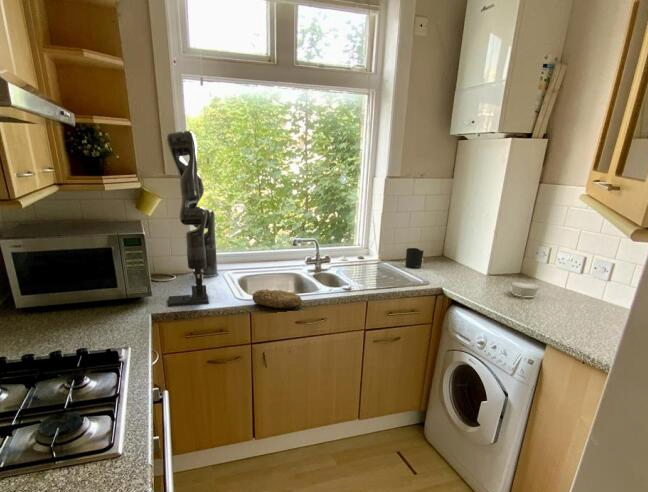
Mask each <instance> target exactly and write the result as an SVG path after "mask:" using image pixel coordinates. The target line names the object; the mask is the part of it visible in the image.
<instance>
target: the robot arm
mask: <svg viewBox="0 0 648 492" xmlns="http://www.w3.org/2000/svg"><path fill="white" fill-rule="evenodd" d="M166 142H167V147H168V149H169V152H170V154H171V157H172V160H173V163H174V165H175V167H176V170H177V173H178V177H179V180H180V182H179V185H180V193H181V206H180V209H179V210H180V211H179V221H180V222H181V224H182V225H184V226H193V227H194V228H195V229H192V230H188V231H186V233H185V241H186V256H187V268H188V269H190V270H194V271H192V275H193V276H192V277H193V280H194V284H195V286H196V289H197V297H202V296H203V293H202V288H203V286H202V285H203V283H204V278H214V277H216V276H218V274H219V273H218V258H217V245H216V244H217V243H216V215H215V212H214V210H213V209H205V208H204V207H203V206H198V205H199V202H200V201H201V199H202V197H203V196H204V192H205V187H204V183H203V179H202V176H201V175H200V174H199V172H198V145H197V140H196V136H195V133H194V132H193V131H191V130H184V131H182V130H181V131H173V132H169V133H167V136H166ZM186 156H188V162H186V160H185V159H184V157H186ZM206 229H207V231H206V232H205V230H206ZM197 285H198V286H197Z"/></svg>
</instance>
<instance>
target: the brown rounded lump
mask: <svg viewBox="0 0 648 492" xmlns="http://www.w3.org/2000/svg"><path fill="white" fill-rule="evenodd" d="M251 297H252V300H253V302H254V304H257V305H260V306H263V307H264V306H265V307H269V308H273V309H293V308H297V307H300V306H302V305H303V299H302V297H301V296H300V295H299V294H296V293H294V292H289V291H285V290H281V289H280V290H279V289H275V290H269V289H257V290H255V292H253V293H252V296H251Z"/></svg>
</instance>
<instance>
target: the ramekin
mask: <svg viewBox="0 0 648 492" xmlns="http://www.w3.org/2000/svg"><path fill="white" fill-rule="evenodd" d="M539 287H540V286H539V285H537V284H535V283H532V282H527V281H513V282H512V283H511V294H512V296H514V297H517V298H521V299H533V298H535V296H536V295H537V293H538V290H539ZM512 292H513V293H514V294H513V293H512ZM515 294H517V295H515ZM518 295H521V296H518ZM523 296H534V297H523Z"/></svg>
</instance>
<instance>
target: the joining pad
mask: <svg viewBox="0 0 648 492" xmlns="http://www.w3.org/2000/svg"><path fill="white" fill-rule="evenodd" d="M197 286H198V285H197ZM202 286H203V288H202V293H203V296H202V297H197V289H196V285H191V294H190V297H184V300H183V301H186V300H191V305H195V306H196V305H208V304H209V303H210V301H209V296H208V293H207V285H206V284H202Z"/></svg>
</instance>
